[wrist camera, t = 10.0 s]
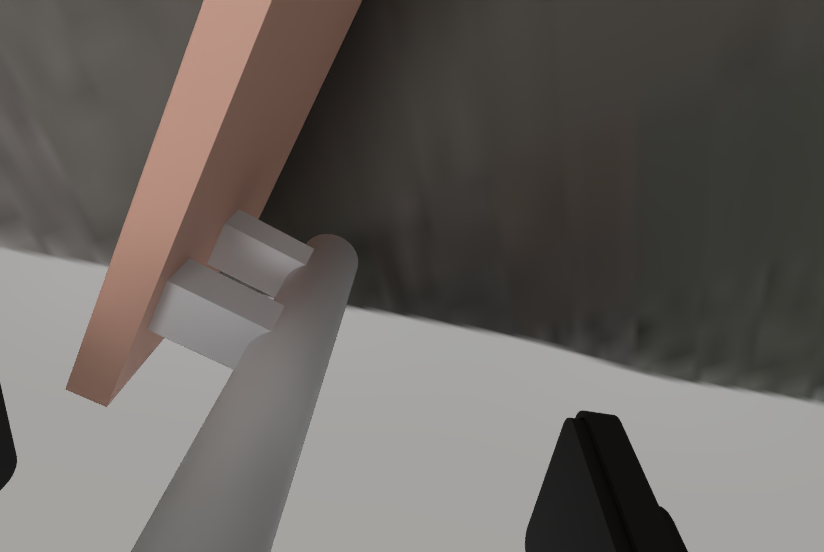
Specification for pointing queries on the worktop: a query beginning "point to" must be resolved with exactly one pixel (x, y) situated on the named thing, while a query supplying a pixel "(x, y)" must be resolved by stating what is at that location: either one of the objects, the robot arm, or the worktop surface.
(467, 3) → the worktop surface
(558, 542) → the robot arm
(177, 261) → the door
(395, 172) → the worktop surface
